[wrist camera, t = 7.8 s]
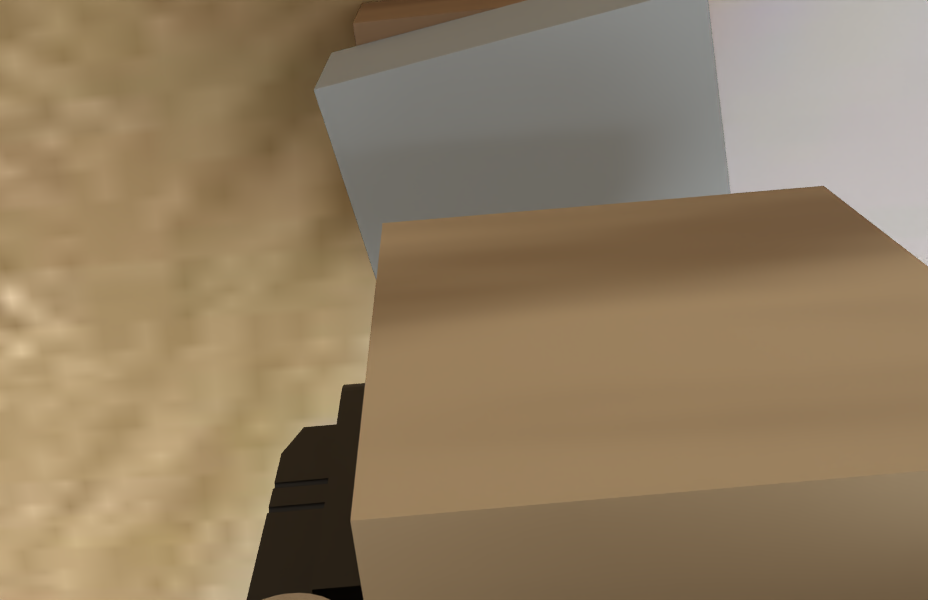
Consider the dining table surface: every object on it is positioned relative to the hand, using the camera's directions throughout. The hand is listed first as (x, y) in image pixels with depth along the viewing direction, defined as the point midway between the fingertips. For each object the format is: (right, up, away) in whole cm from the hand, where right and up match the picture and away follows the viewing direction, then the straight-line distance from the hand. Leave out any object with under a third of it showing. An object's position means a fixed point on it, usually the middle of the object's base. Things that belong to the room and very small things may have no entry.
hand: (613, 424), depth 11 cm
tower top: (0, +5, +8) cm, 10 cm away
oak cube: (0, 0, +1) cm, 1 cm away
